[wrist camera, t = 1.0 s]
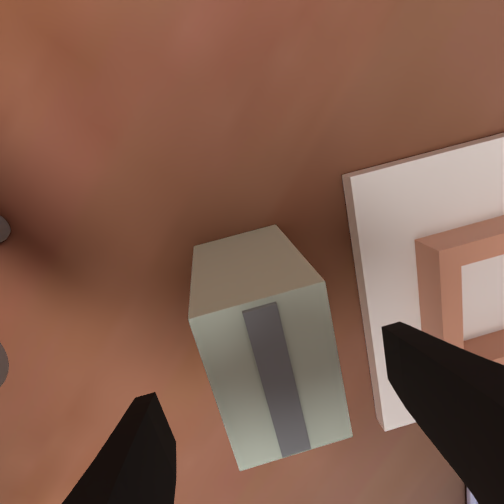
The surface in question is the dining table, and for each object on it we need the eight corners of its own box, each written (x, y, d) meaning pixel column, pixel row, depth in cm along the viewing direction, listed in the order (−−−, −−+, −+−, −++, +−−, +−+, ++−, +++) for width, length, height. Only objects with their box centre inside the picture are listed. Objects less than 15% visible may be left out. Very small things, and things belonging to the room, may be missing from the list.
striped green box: (298, 330, 18) (354, 440, 12) (226, 350, 18) (240, 475, 11) (275, 224, 16) (326, 283, 10) (193, 245, 16) (187, 322, 9)
